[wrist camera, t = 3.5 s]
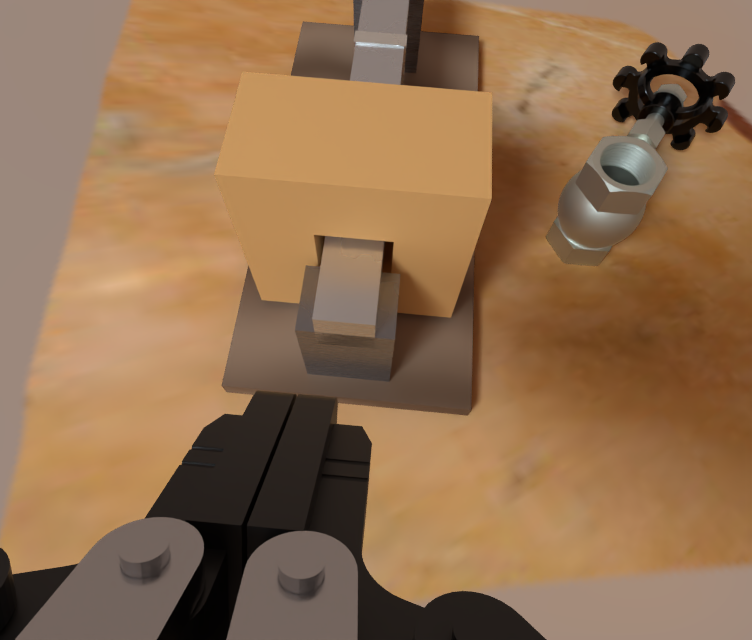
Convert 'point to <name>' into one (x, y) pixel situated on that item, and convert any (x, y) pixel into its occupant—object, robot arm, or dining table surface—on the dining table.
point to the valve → (634, 154)
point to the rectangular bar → (360, 256)
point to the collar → (358, 180)
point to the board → (413, 332)
